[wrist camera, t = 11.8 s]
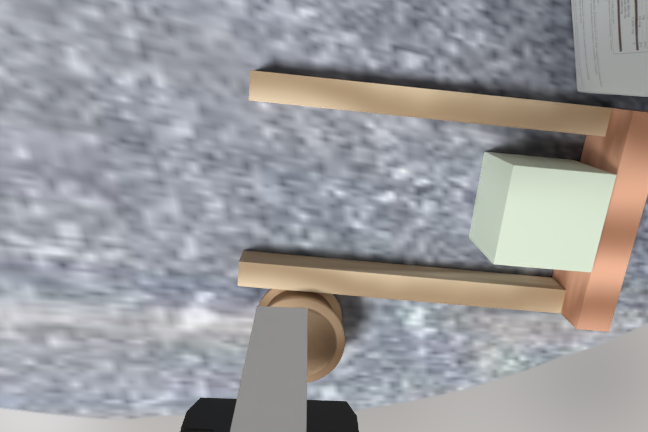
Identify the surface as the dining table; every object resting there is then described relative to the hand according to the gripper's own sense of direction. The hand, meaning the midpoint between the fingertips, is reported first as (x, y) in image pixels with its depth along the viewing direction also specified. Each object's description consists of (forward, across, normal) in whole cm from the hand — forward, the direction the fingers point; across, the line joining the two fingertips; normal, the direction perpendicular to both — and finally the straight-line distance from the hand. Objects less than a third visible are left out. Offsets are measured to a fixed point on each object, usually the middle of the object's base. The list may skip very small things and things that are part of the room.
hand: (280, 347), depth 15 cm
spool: (+25, +1, -12) cm, 28 cm away
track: (+25, +10, -1) cm, 27 cm away
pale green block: (+25, +18, -1) cm, 31 cm away
